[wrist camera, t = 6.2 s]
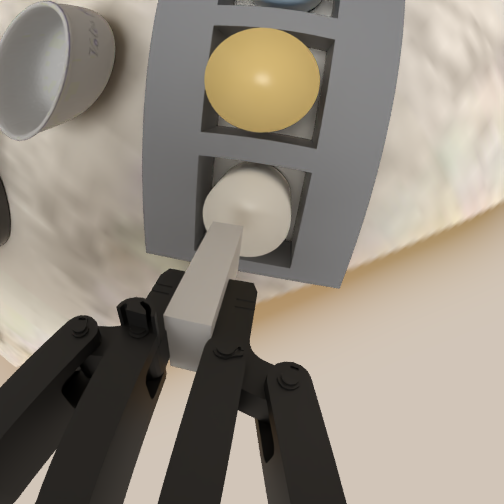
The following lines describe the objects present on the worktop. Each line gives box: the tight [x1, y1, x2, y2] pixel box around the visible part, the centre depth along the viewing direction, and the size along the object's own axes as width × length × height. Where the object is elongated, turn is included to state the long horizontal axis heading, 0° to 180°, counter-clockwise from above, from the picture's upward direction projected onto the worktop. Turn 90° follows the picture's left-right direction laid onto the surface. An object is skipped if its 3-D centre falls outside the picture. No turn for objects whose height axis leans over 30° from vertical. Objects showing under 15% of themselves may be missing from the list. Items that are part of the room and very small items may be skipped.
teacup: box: [0, 1, 115, 141], centre depth 13 cm, size 14×11×8 cm
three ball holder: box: [142, 0, 405, 288], centre depth 15 cm, size 15×26×4 cm, turn 173°
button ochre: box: [204, 28, 320, 132], centre depth 13 cm, size 6×6×4 cm
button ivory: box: [203, 162, 291, 257], centre depth 19 cm, size 6×6×4 cm
